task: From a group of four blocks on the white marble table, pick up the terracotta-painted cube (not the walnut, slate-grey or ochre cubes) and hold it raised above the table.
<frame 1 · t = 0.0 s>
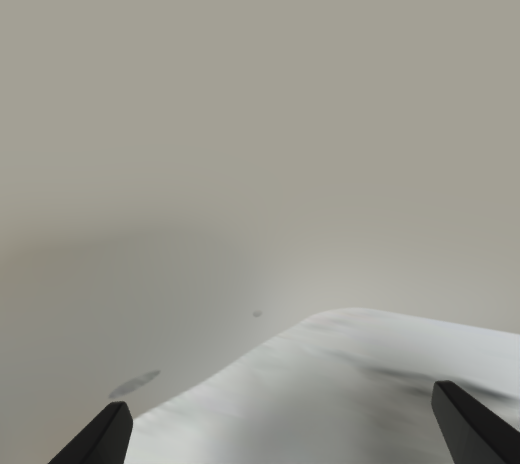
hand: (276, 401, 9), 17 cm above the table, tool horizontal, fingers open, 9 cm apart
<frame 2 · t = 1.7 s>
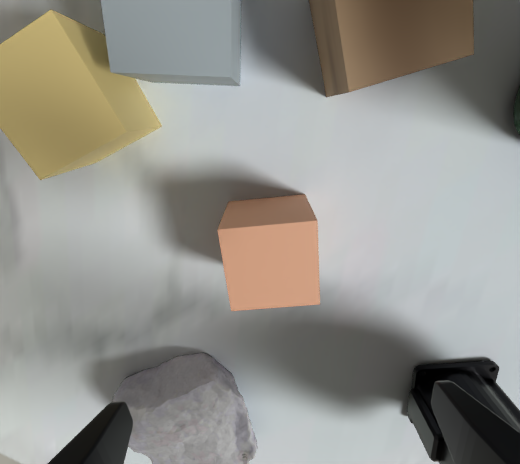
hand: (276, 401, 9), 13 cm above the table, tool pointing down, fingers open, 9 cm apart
slate cube: (194, 32, 16), on the table
terracotta cube: (269, 232, 20), on the table
stone block: (200, 400, 27), on the table
walnut cube: (363, 33, 16), on the table
ochre cube: (103, 105, 17), on the table
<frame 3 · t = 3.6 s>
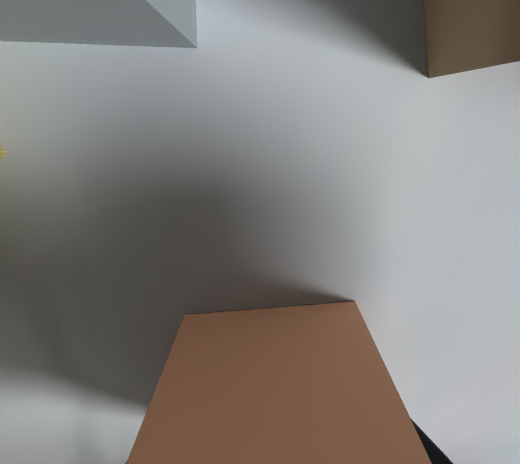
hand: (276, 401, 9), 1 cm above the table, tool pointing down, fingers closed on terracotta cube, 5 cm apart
terracotta cube: (275, 371, 10), on the table, touching gripper
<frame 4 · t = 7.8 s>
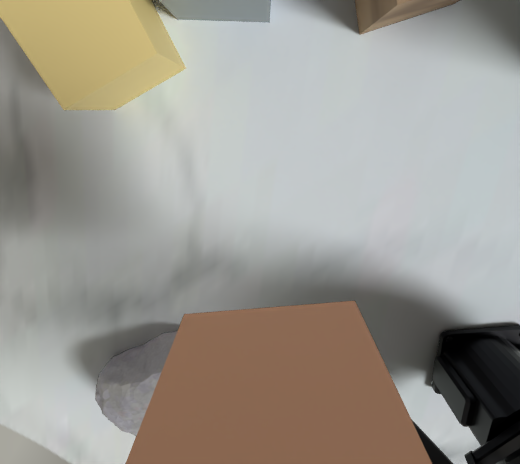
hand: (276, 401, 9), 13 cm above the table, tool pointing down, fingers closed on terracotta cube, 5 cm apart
terracotta cube: (275, 371, 10), point 12 cm above the table, touching gripper
stone block: (189, 380, 27), on the table
ochre cube: (124, 45, 17), on the table
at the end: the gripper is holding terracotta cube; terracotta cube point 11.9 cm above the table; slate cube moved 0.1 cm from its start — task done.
